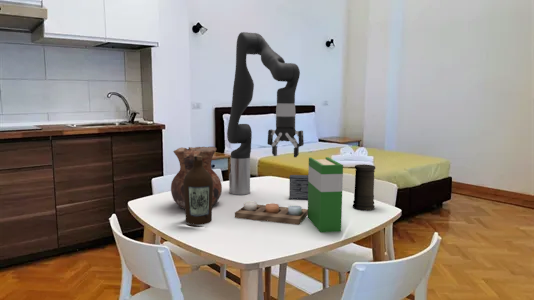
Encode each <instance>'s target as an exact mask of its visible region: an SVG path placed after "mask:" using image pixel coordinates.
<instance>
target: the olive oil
mask: <svg viewBox="0 0 534 300" xmlns="http://www.w3.org/2000/svg"><path fill="white" fill-rule="evenodd" d="M193 158H194V160H193V168H192V169H191V170H190V171H189V172H188V173H187V174H186V176H185V178H184V182H183V185H184V198H185V209H184V210H185V223H186V226H188V227H193V228H200V227H202V228H203V227H204V225H207V224H210V223H211V222H212V220H213V217H212V215H213V206H212V194H213V180H212V177H211V175H210V174H209V172H208V171H207V170H206V169H205V168H204V167H203V160H202V156H193Z"/></svg>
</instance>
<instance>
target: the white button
mask: <svg viewBox="0 0 534 300" xmlns="http://www.w3.org/2000/svg"><path fill="white" fill-rule="evenodd" d="M243 207H244V210H246V211H255V210H257V202H256V201H253V200H251V201H244V202H243Z"/></svg>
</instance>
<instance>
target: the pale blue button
mask: <svg viewBox="0 0 534 300" xmlns="http://www.w3.org/2000/svg"><path fill="white" fill-rule="evenodd" d="M302 209H303V207H302V206H300V205H289V206H288V214H289V215H294V216H298V215H301V214H302Z"/></svg>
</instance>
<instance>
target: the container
mask: <svg viewBox="0 0 534 300" xmlns="http://www.w3.org/2000/svg"><path fill="white" fill-rule="evenodd" d="M354 169H355V170H354V171H355V175H354V176H355V178H354V194H353V198H354V199H353V204H352V208H353V209H355V210H357V211H364V210H367V211H372V210H373V211H374V210H375V199H374V198H375V195H374V194H375V193H374V192H375V190H374V189H375V172H376V171H375V170H376V166H375V165H372V164H355V165H354Z"/></svg>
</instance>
